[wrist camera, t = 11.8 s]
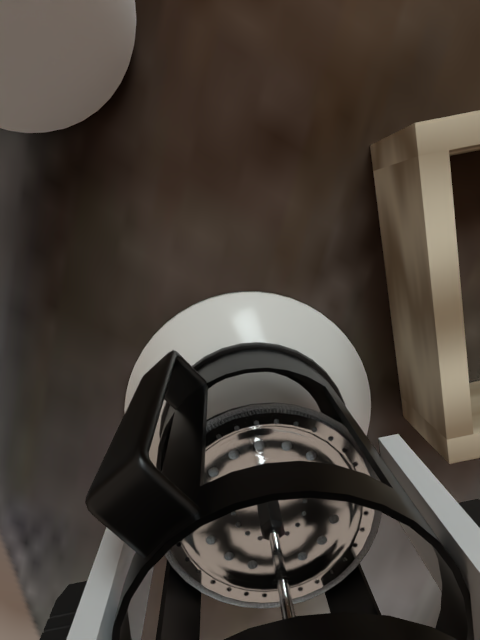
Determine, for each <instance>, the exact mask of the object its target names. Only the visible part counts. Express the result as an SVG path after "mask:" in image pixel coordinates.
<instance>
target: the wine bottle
mask: <svg viewBox="0 0 480 640" xmlns="http://www.w3.org/2000/svg"><path fill="white" fill-rule="evenodd" d="M135 31H136V9H135V0H0V128H2V129H5V130H9V131H16V132H22V133H45V132H51V131H55V130H60V129H65V128H68V127H70V126H72V125H75V124H77V123H79V122H82V121H83V120H85V119H86V118H88V117H89V116H91V115H92V114H94V113H95V112H97V111H98V110H99V109H100V108H101V107H102V106H103V105H104V104H105V103H106V102H107V101H108V100H109V99H110V98H111V97H112V95H113V94H114V92H115V91H116V89H117V88H118V86H119V85H120V83H121V82H122V79H123V77H124V75H125V73H126V70H127V68H128V66H129V63H130V59H131V55H132V51H133V47H134V42H135Z"/></svg>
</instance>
